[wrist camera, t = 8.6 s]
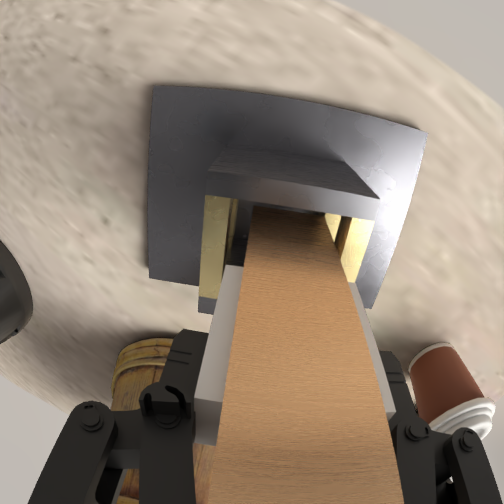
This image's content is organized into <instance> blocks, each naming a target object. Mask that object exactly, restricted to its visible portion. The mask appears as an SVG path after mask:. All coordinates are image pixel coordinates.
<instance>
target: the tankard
mask: <svg viewBox="0 0 504 504" xmlns="http://www.w3.org/2000/svg"><path fill="white" fill-rule="evenodd" d="M172 342H173V339H167V338H153V339H148V340H142V341H138V342H135V343H133V344H130V345H128V346H127V347H125V348H124V349H123V350H121V352H120V354H119V356H118V359H117V362H116V368H115V370H114V375H113V379H112V384H111V391H112V398H113V402H112V406H111V411H130V410H136V409H139V408H140V405H139V400H138V399H139V397H140V394H141V392H142V391H143V390H144V389H145V388H146V387H147V386H148V385H150V384H153V383H155V382H159V380H160V377H161V374H162V371H163V368H164V365H165V362H166V360H167V356H168V353H169V352H170V348H171V345H172ZM215 450H216V446H211V445H204V444H198V443H194V446H193V464H194V480H195V494H196V504H208V497H209V491H210V484H211V477H212V470H213V464H214V457H215ZM116 504H139V469H128V471H127V473H126V476H125V479H124V482H123V485H122V488H121V491H120V494H119V497H118V500H117V503H116Z"/></svg>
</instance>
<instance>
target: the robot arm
mask: <svg viewBox="0 0 504 504" xmlns="http://www.w3.org/2000/svg"><path fill="white" fill-rule="evenodd" d="M243 269H244V267H239V266H232V265H226V266H225V270H224V274H223V278H222V282H221V286H220V290H219V295H218V299H217V303H216V307H215V311H214V315H213V319H212V323H211V327H210V331H209V333H204V332H198V331H192V330H187V329H183V330H182V331H181V332H180V333H179V334H177V335H176V336H175V337H174V339H173V342H172V345H171V348H170V352H169V353H168V356H167V360H166V362H165V365H164V368H163V371H162V374H161V377H160V380H159V382H155V383H153V384H150V385H148V386H147V387H146V388H145V389H144V390H143V391H142V392H141V394H140V397H139V399H138V400H139V405H140V408H139V409H136V410H130V411H111V410H110V409H109V408H108V406H106V405H104V404H102V403H101V402H96V401H88V402H83V403H81V404H79V405H77V406H76V407H75V408H74V409H73V411H72V412H71V414H70V416H69V418H68V419H67V422H66V424H65V425H64V427H63V429H62V431H61V433H60V435H59V437H58V439H57V441H56V443H55V445H54V447H53V449H52V451H51V453H50V455H49V458H48V460H47V462H46V464H45V466H44V468H43V470H42V472H41V475H40V477H39V479H38V481H37V483H36V486H35V488H34V490H33V493H32V495H31V497H30V499H29V502H28V504H116V503H117V500H118V497H119V494H120V491H121V488H122V485H123V482H124V479H125V476H126V473H127V471H128V469H139V504H196V494H195V480H194V464H193V446H194V443H198V444H204V445H211V446H216V444H217V437H218V430H219V424H220V417H221V411H222V404H223V397H224V391H225V384H226V378H227V371H228V365H229V358H230V352H231V345H232V339H233V333H234V326H235V320H236V313H237V307H238V301H239V294H240V288H241V282H242V275H243ZM348 284H349V287H350V290H351V293H352V296H353V299H354V302H355V305H356V308H357V312H358V315H359V318H360V321H361V325H362V328H363V331H364V334H365V338H366V341H367V345H368V348H369V352H370V355H371V359H372V362H373V366H374V369H375V373H376V377H377V381H378V384H379V388H380V392H381V396H382V400H383V404H384V408H385V412H386V416H387V420H388V425H389V429H390V433H391V438H392V443H393V447H394V452H395V457H396V462H397V467H398V472H399V477H400V483H401V488H402V494H403V500H404V504H503V503H502V500H501V497H500V493H499V490H498V487H497V484H496V481H495V478H494V475H493V472H492V469H491V466H490V463H489V461H488V458H487V455H486V452H485V450H484V447H483V445H482V442H481V439H480V438H479V436H478V434H477V433H476V432H475V431H474V430H472V429H470V428H467V427H461V428H459V429H457V430H456V431H455V432H454V433H453V434H452V435H451V434H446V433H441V432H436V431H433V430H431V427H430V426H429V425H428V423H427V422H426V421H424V420H423V419H422V418H420V417H417V414H416V411H415V408H414V405H413V401H412V398H411V395H410V392H409V389H408V386H407V384H406V380H405V377H404V375H403V371H402V368H401V365H400V362H399V361H398V359H397V358H396V357H395V356H394V355H393V353H392V352H389V351H378V348H377V344H376V341H375V338H374V335H373V332H372V329H371V326H370V323H369V320H368V317H367V314H366V311H365V308H364V305H363V303H362V300H361V297H360V294H359V291H358V288H357V286H356V283H353V282H348ZM32 311H33V304H32V297H31V293H30V290H29V287H28V284H27V281H26V279H25V277H24V275H23V273H22V271H21V269H20V267H19V266H18V264H17V262H16V261H15V259H14V258H13V256H12V255H11V253H10V252H9V251H8V250H7V248H6V247H5V246H4V245H3V244H2V243H1V242H0V344H1V343H3V342H4V341H6V340H7V339H9V338H10V337H12V336H15V335H16V334H18V333H19V332H20V331H21V330H22V329H23V328H24V327H25V325H26V324H27V323H28V322H29V320H30V318H31V316H32ZM451 476H452V479H453V482H452V481H451V480H450V477H451Z"/></svg>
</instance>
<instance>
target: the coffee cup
mask: <svg viewBox="0 0 504 504" xmlns="http://www.w3.org/2000/svg"><path fill="white" fill-rule="evenodd" d="M408 371H409V374H410V378H411V382H412V386H413V390H414V395H415V399H416V403H417V408H418V413H419V417H420V418H422V419H423V420H424V421H426V422H427V423H428V425H429V426H430V427H431V430H433V431H436V432H441V433H446V434H451V435H452V434H453V433H454V432H455V431H456V430H457V429H459V428H461V427H467V428H470V429H472V430H474V431H475V432H476V433H477V434H478V436H479V438H480V439H481V440H482V439H483V438H484V437H485V436H486V435H487V434H488V433H489V431H490V430H491V428H492V421H491V420H492V416H493V415H494V413H495V403H494V401H493V400H492V399H490V398H489V397H484V396H483V394H482V392H481V390H480V389H479V387H478V385H477V384H476V382H475V380H474V379H473V377H472V376H471V374H470V372H469V371H468V369H467V368H466V366H465V364H464V363H463V361H462V360H461V358H460V357H459V355H458V354H457V352H456V351H455V349H454V347H453V346H452V345H451V344H450V343H443V342H442V343H437V344H433V345H431V346H429V347H427V348H425V349H423V350H422V351H421V352H419V353H418V354H417V355H416V356H415V357H414V358H413V360H412V361H411V362H410V365H409V368H408Z"/></svg>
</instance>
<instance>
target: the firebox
mask: <svg viewBox="0 0 504 504" xmlns="http://www.w3.org/2000/svg"><path fill="white" fill-rule="evenodd" d="M427 136H428V133H427V132H424V131H421V130H418V129H415V128H412V127H409V126H405V125H402V124H399V123H396V122H392V121H389V120H385V119H382V118H378V117H374V116H371V115H367V114H363V113H359V112H355V111H351V110H346V109H342V108H338V107H333V106H329V105H324V104H319V103H314V102H309V101H303V100H298V99H292V98H286V97H280V96H274V95H267V94H259V93H252V92H244V91H235V90H225V89H213V88H200V87H183V86H154V88H153V98H152V110H151V124H150V141H149V163H148V261H149V278H152V279H158V280H163V281H169V282H175V283H182V284H188V285H194V286H199V301H198V312H200V313H206V314H212V315H214V311H215V307H216V303H217V299H218V295H219V290H220V286H221V282H222V278H223V274H224V270H225V266H226V265H232V266H239V267H244V263H245V256H246V250H247V244H248V238H249V231H250V225H251V219H252V213H253V206H254V205H255V206H262V207H268V208H275V209H281V210H288V211H294V212H300V213H306V214H312V215H318V216H324V217H325V219H326V222H327V224H328V227H329V230H330V233H331V235H332V238H333V241H334V244H335V246H336V249H337V252H338V255H339V258H340V260H341V263H342V266H343V269H344V272H345V275H346V278H347V281H348V282H353V283H356V286H357V288H358V291H359V294H360V297H361V300H362V303H363V305H364V308H369V309H372V306H373V304H374V302H375V299H376V297H377V294H378V292H379V289H380V287H381V284H382V282H383V279H384V276H385V274H386V271H387V269H388V266H389V263H390V261H391V258H392V255H393V252H394V249H395V247H396V244H397V241H398V238H399V235H400V232H401V229H402V226H403V223H404V220H405V217H406V213H407V210H408V207H409V204H410V200H411V197H412V194H413V190H414V187H415V183H416V180H417V176H418V172H419V168H420V165H421V161H422V157H423V153H424V149H425V144H426V140H427Z"/></svg>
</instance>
